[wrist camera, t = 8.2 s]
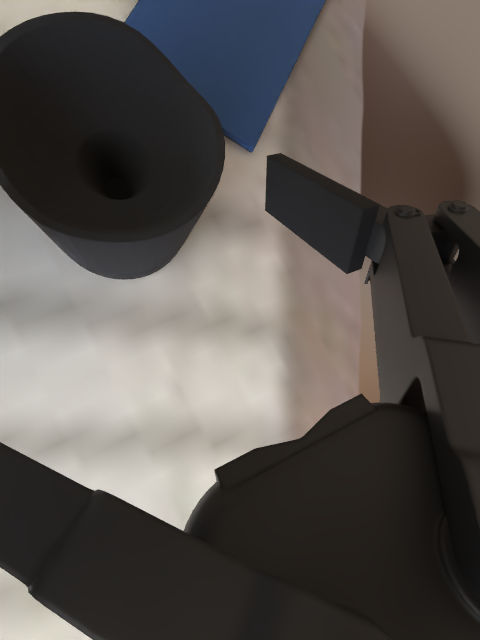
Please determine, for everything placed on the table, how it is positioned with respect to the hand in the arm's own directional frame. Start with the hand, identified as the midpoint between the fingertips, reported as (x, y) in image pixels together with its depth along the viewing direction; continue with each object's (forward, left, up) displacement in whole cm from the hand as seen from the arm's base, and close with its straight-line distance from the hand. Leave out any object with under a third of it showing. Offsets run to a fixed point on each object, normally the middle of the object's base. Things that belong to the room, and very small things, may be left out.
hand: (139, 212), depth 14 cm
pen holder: (-2, +2, -9) cm, 9 cm away
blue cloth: (-2, +22, -9) cm, 24 cm away
